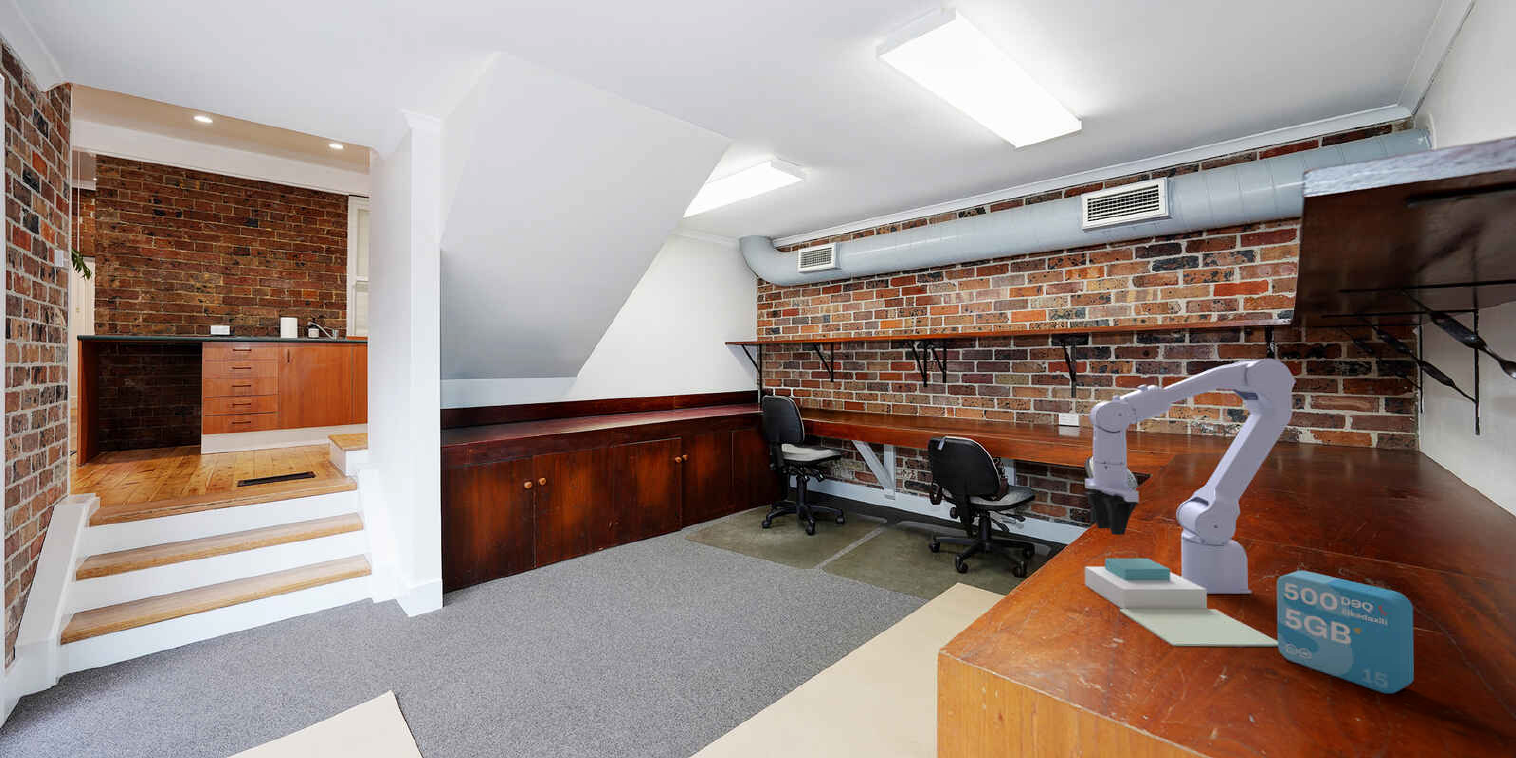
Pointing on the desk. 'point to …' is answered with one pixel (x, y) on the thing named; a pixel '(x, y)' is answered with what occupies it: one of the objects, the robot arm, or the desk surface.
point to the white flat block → (1146, 591)
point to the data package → (1346, 630)
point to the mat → (1198, 627)
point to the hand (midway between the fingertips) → (1110, 531)
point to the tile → (1137, 569)
